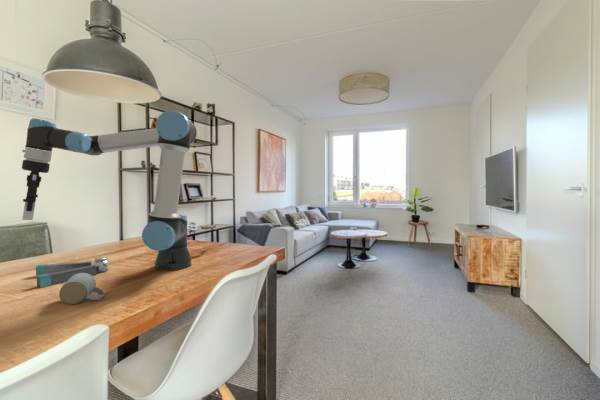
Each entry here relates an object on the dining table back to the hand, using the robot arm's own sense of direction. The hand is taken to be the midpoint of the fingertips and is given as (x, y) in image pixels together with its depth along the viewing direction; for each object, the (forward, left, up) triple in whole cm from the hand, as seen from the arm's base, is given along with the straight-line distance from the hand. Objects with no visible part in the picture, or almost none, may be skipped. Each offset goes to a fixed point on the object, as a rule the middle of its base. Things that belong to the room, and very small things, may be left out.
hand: (27, 216), depth 109 cm
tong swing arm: (-7, -11, -23) cm, 27 cm away
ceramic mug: (-41, 0, -24) cm, 47 cm away
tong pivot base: (-13, -9, -24) cm, 28 cm away
